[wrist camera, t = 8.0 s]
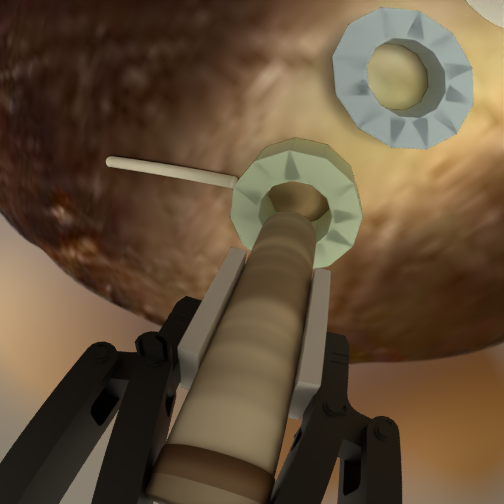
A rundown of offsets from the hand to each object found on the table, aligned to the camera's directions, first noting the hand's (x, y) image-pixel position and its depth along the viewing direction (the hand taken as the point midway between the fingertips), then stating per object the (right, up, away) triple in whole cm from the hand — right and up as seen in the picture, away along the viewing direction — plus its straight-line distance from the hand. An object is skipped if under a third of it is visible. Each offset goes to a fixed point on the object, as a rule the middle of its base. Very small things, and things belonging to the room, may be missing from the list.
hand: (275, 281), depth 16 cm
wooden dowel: (+1, +2, +4) cm, 5 cm away
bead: (+3, +6, +9) cm, 11 cm away
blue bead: (+9, +14, +2) cm, 17 cm away
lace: (-8, +9, +10) cm, 16 cm away
